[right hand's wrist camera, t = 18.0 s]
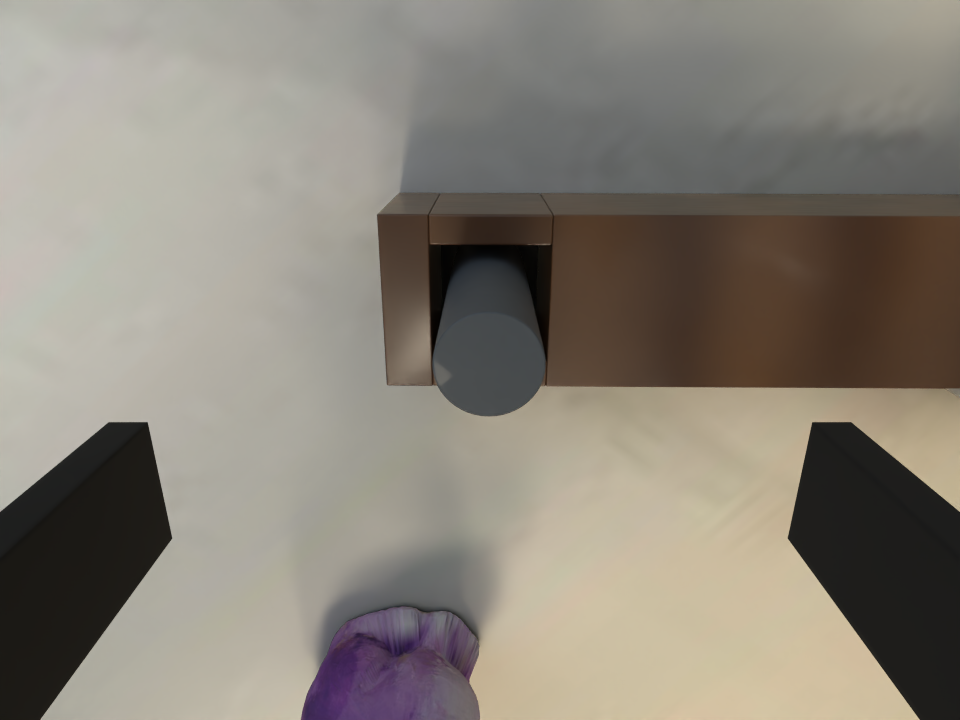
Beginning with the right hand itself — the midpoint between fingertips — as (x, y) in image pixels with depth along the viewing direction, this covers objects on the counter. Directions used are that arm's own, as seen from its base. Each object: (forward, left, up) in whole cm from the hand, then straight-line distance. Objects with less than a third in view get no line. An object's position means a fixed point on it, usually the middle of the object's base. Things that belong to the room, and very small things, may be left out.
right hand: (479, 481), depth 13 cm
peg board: (0, -10, -18) cm, 20 cm away
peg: (0, 0, -18) cm, 18 cm away
